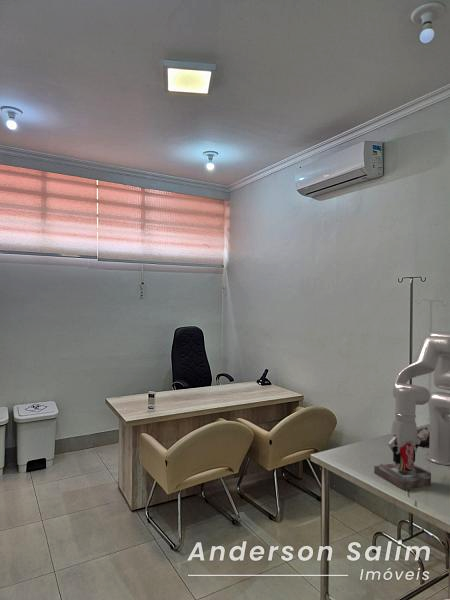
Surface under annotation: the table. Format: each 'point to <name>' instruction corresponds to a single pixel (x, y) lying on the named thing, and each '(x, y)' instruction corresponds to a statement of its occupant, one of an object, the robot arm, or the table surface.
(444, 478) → the table surface
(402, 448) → the soda can
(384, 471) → the frame
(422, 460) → the table surface
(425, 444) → the caster wheel
